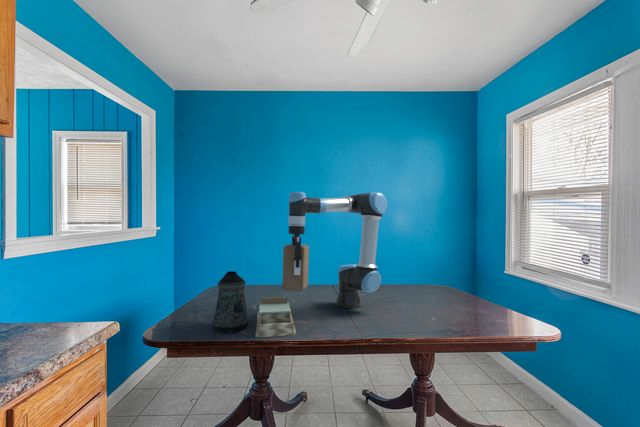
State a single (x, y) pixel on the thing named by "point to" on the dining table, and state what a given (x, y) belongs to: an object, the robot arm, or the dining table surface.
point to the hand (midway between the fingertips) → (295, 272)
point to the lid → (274, 305)
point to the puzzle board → (275, 325)
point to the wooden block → (289, 278)
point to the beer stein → (231, 305)
